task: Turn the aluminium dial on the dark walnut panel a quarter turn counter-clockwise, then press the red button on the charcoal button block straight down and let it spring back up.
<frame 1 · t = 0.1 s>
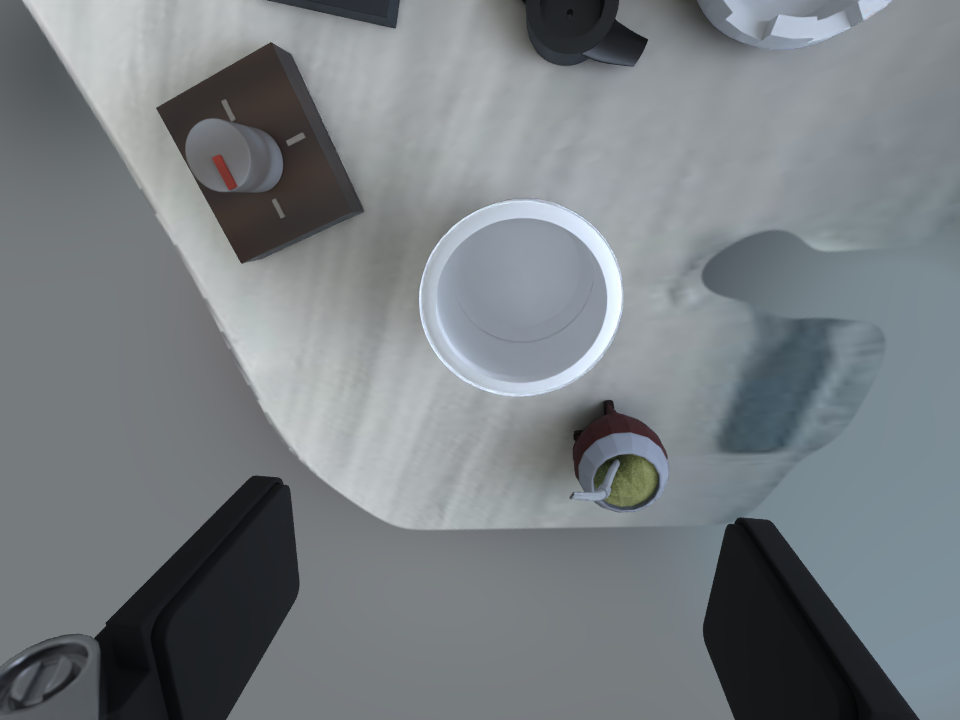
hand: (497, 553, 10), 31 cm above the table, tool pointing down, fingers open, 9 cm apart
jar: (523, 265, 39), on the table
black wing nut: (568, 18, 34), on the table
dial panel: (275, 163, 39), on the table
mate gourd: (604, 429, 43), on the table
dial: (235, 158, 33), point 5 cm above the table, hinge at 0.0°
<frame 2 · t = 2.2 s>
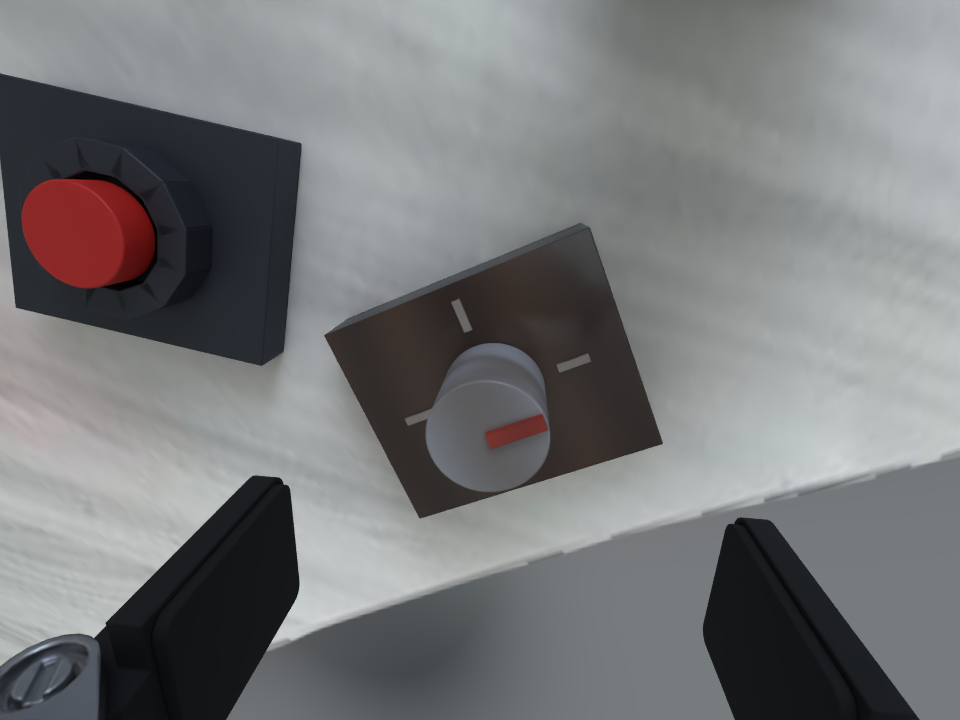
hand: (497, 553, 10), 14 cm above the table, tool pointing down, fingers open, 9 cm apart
dial panel: (498, 367, 24), on the table
button: (91, 233, 19), point 5 cm above the table, slide at 0.2 cm
button block: (170, 226, 23), on the table
dial: (490, 413, 19), point 5 cm above the table, hinge at 0.0°
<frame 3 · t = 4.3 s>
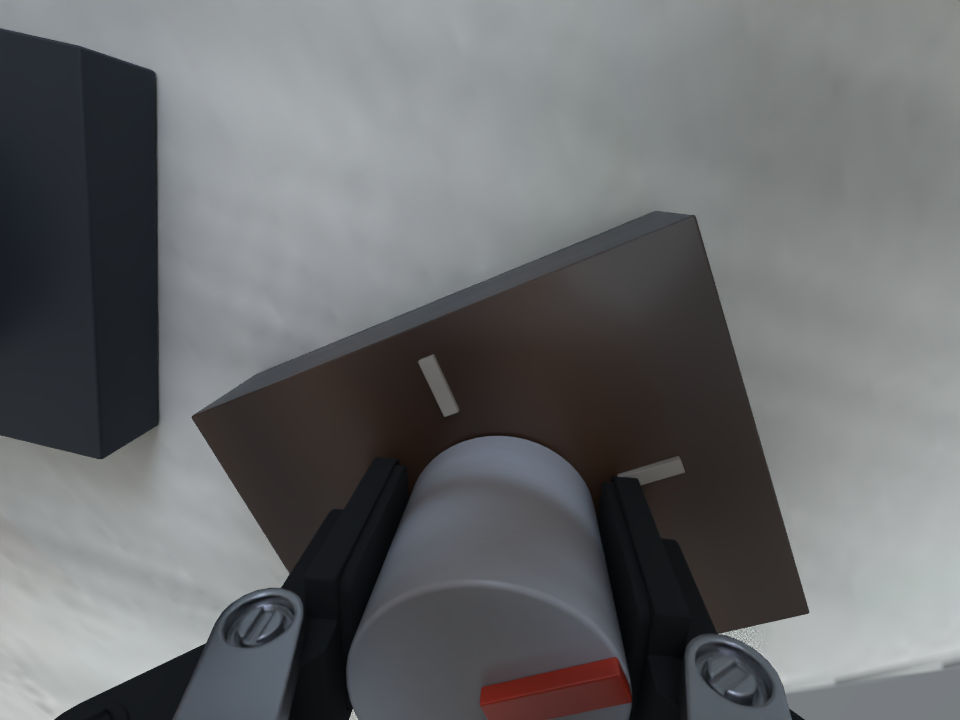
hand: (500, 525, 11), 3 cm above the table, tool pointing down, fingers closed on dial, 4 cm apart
dial panel: (506, 453, 15), on the table
dial: (494, 594, 9), point 5 cm above the table, hinge at 0.2°, touching gripper
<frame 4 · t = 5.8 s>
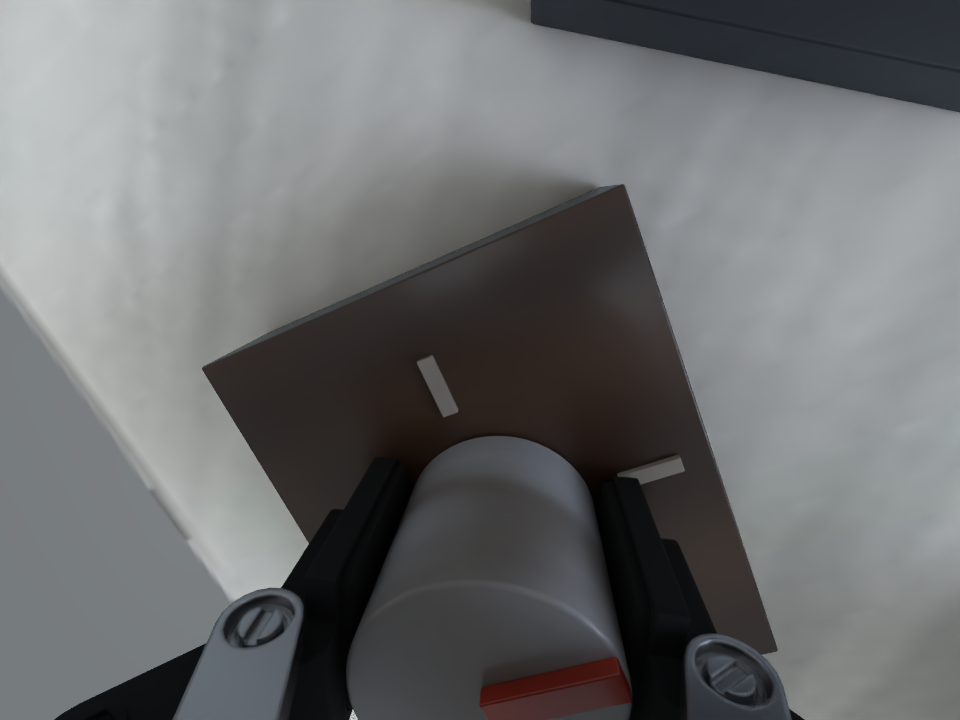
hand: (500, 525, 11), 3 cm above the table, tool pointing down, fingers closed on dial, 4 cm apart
dial panel: (506, 453, 15), on the table
dial: (494, 594, 9), point 5 cm above the table, hinge at 90.1°, touching gripper
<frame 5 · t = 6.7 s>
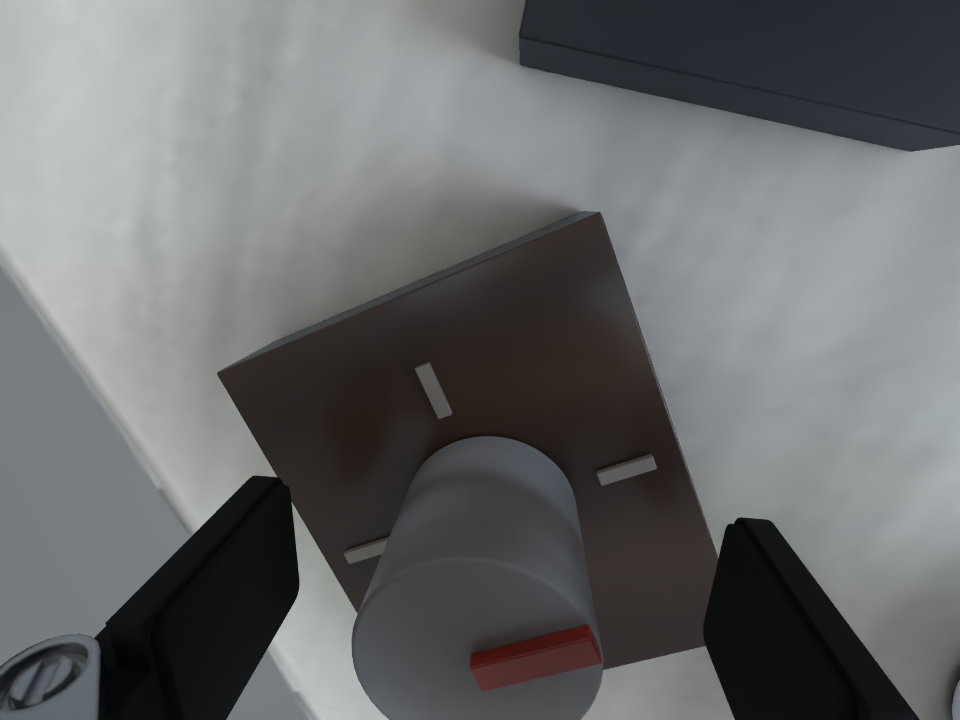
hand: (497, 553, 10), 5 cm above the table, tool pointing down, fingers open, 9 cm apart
dial panel: (496, 455, 16), on the table
dial: (483, 578, 10), point 5 cm above the table, hinge at 89.9°
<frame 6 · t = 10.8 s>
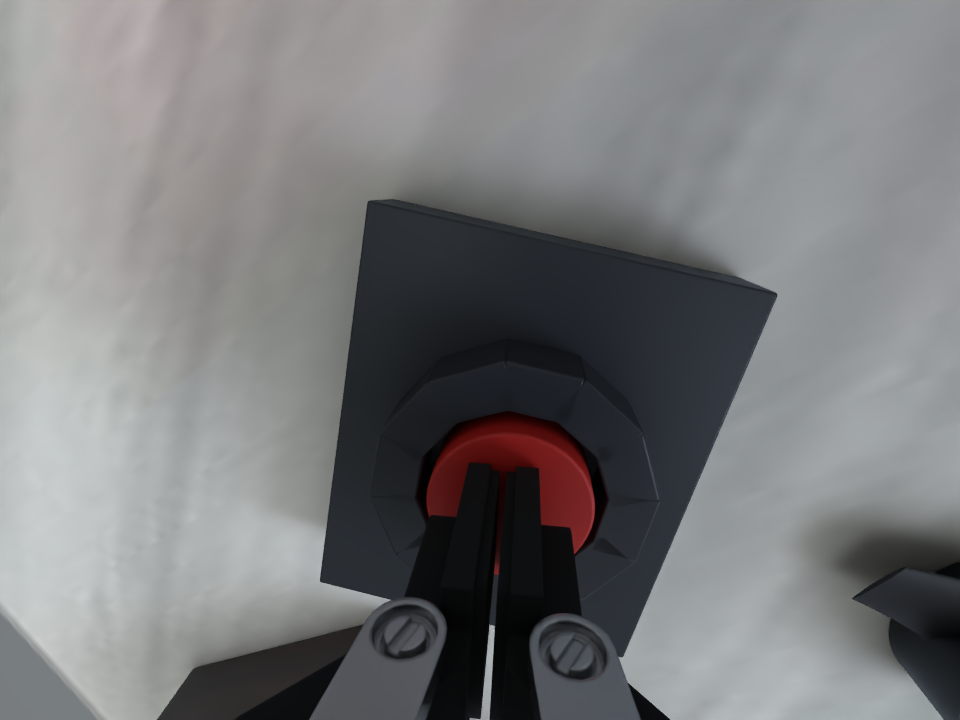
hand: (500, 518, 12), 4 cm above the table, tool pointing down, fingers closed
button: (510, 488, 12), point 4 cm above the table, slide at -0.8 cm, touching gripper
button block: (515, 425, 16), on the table
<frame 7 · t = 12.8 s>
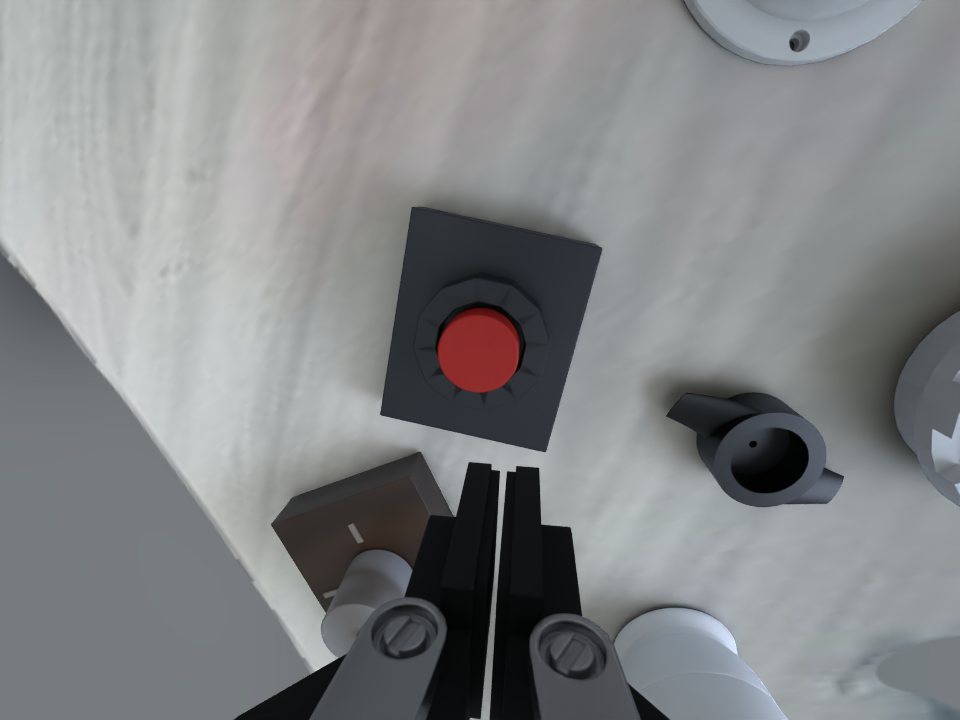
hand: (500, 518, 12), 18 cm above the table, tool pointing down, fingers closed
jar: (670, 648, 35), on the table
black wing nut: (745, 435, 30), on the table
dial panel: (393, 546, 34), on the table
button: (479, 349, 25), point 5 cm above the table, slide at 0.1 cm
button block: (486, 328, 29), on the table
dial: (370, 606, 29), point 5 cm above the table, hinge at 89.9°
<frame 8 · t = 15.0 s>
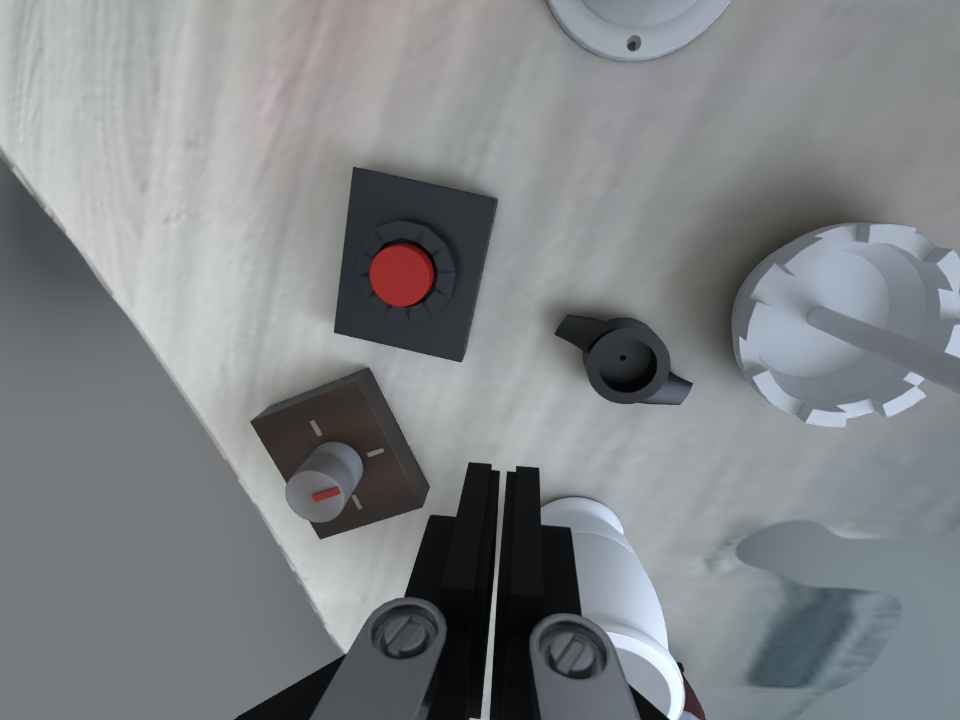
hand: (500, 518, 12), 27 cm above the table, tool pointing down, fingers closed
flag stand: (809, 312, 36), on the table
jar: (573, 534, 44), on the table
black wing nut: (620, 353, 38), on the table
dial panel: (350, 447, 43), on the table
button: (402, 274, 33), point 5 cm above the table, slide at 0.1 cm
mate gourd: (643, 662, 47), on the table
button block: (416, 265, 37), on the table
dial: (325, 481, 38), point 5 cm above the table, hinge at 89.9°
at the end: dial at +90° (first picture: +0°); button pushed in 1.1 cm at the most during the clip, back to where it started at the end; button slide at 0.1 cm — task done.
